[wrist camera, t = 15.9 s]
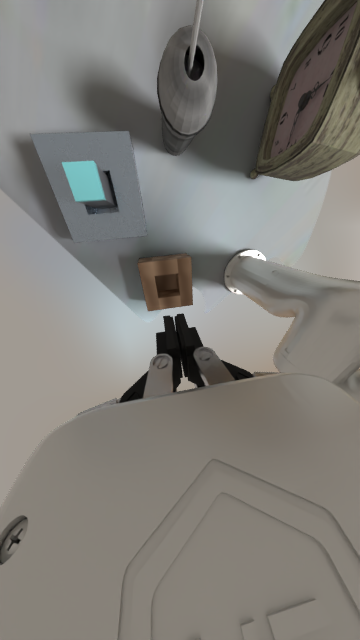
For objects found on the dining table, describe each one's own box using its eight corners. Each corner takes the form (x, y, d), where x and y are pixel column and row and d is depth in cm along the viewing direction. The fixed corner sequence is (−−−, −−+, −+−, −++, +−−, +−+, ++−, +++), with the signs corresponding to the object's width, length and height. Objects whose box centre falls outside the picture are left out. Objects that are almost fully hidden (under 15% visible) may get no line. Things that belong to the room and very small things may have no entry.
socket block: (133, 148, 28) (128, 130, 23) (147, 234, 35) (146, 235, 30) (53, 151, 27) (29, 134, 22) (85, 240, 34) (74, 242, 29)
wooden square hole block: (186, 253, 39) (191, 257, 34) (188, 296, 45) (192, 304, 40) (139, 258, 38) (137, 263, 33) (148, 301, 44) (147, 311, 39)
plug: (112, 181, 29) (93, 160, 20) (118, 207, 31) (104, 199, 22) (90, 183, 29) (61, 162, 19) (98, 208, 31) (75, 201, 22)
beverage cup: (166, 173, 30) (182, 106, 14) (147, 120, 26) (140, -66, 10) (199, 154, 30) (259, 61, 13) (185, 98, 26) (247, -142, 9)
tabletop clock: (267, 75, 26) (760, -574, 5) (310, 89, 28) (819, -350, 7) (241, 185, 33) (394, 115, 12) (277, 191, 35) (464, 139, 14)
